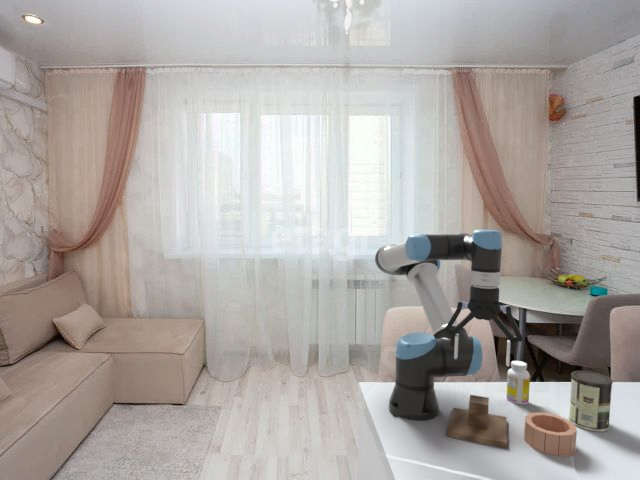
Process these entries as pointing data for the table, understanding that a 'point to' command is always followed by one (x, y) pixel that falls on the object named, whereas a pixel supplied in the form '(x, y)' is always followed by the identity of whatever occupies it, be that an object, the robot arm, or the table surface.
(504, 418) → the walnut lid
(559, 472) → the table surface
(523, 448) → the table surface
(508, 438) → the rubber mat
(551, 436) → the terracotta bowl
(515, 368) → the supplement bottle
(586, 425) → the coffee can
